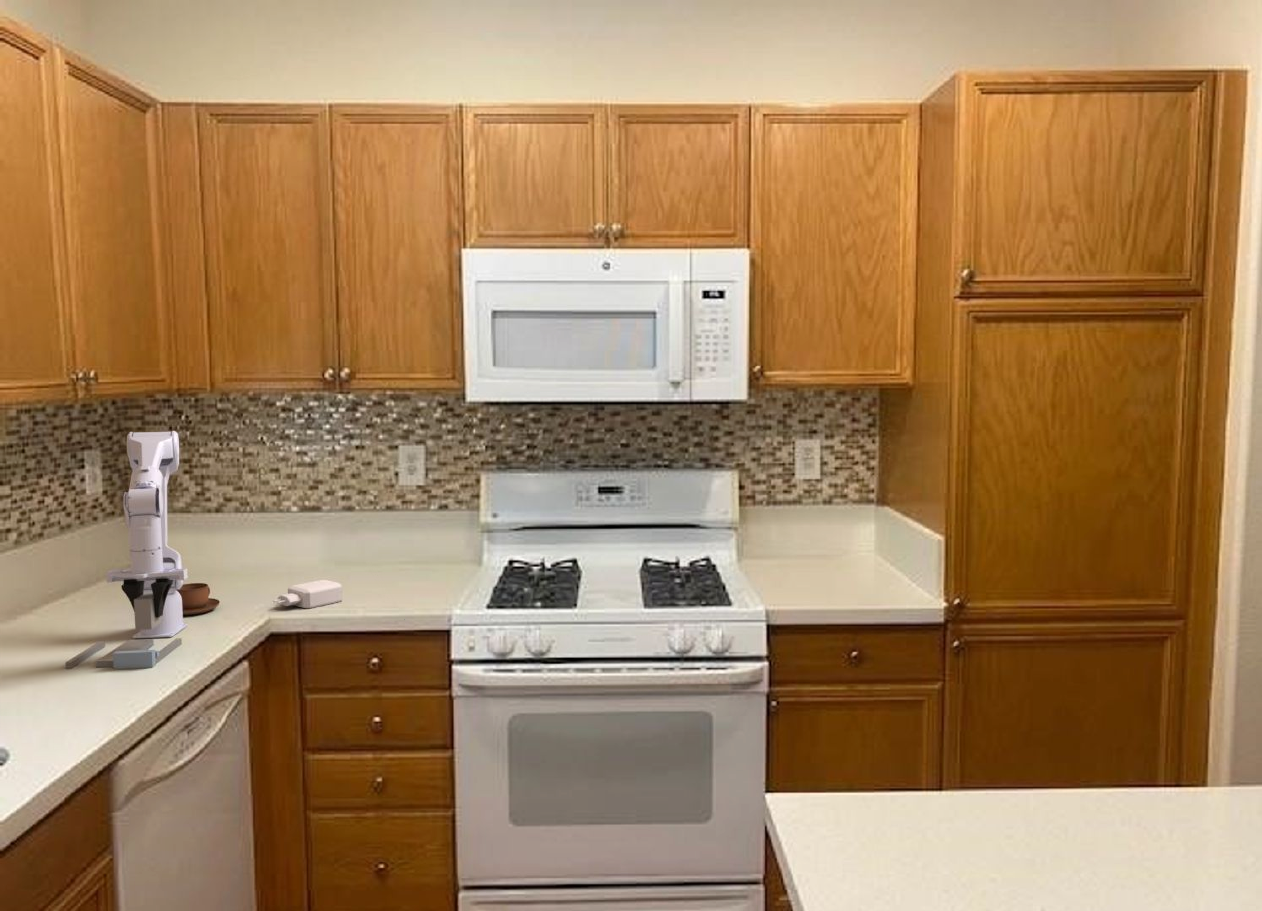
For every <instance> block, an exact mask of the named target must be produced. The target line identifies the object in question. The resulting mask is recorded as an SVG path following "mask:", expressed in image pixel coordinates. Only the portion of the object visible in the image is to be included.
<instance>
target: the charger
mask: <svg viewBox="0 0 1262 911" xmlns="http://www.w3.org/2000/svg"><path fill="white" fill-rule="evenodd" d="M272 602H273V603H277V604H280V605H282V606H284V607H288V606H295V607H300V608H304V609H309V610H310V609H314V608H318V607H322V606H327V605H332V604H336V603H341V602H343V586H342V584H341V583H339V582H336V581H331V580H327V579H320V580H314V581H310V582H305V583H299V584H294V585H290V586H289V587H288V588H287V594H286V593H284V594H281V595H279V596H278V597H277V599H274V600H272Z"/></svg>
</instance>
